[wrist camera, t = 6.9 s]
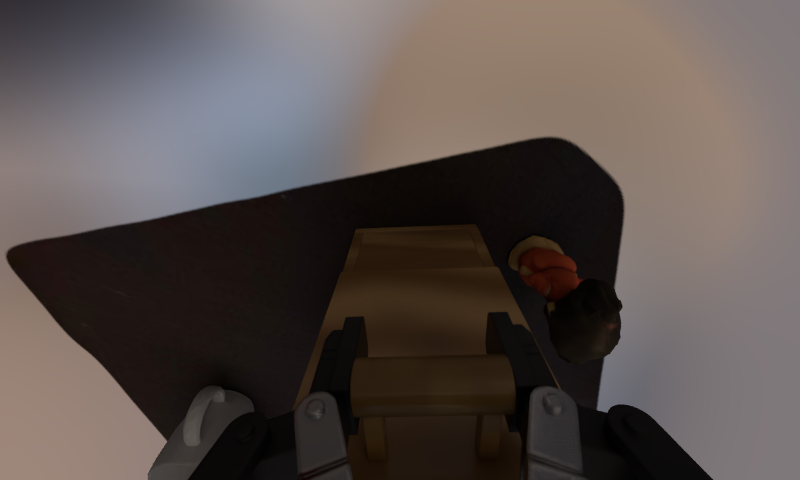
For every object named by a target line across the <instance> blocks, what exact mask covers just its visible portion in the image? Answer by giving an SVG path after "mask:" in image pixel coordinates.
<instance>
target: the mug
mask: <svg viewBox="0 0 800 480" xmlns="http://www.w3.org/2000/svg"><path fill="white" fill-rule="evenodd" d="M249 412H254V406H253V403H252V401H251V400H250V399H249V398H248V397H247V396H245V395H244V394H241V393H239V392H236V391H232V390H227V389H225V390H224V389H223V388H222V387H221V386H215V385H212V386H207V387H205V388H203V389H202V390H201V391H200V392H199V393H198V394H197V396H196V397H195V398H194V400H193V402H192V404H191V406H190V408H189V410H188V412H187V415H186V417H185V418H184V419H183V421H182V422H181V423H180V425H179V426H178V427H177V428H176V430H175V431H174V432H173V434H172V435H171V437H170V438H169V440H168V441H167V443H166V444H165V446H164V448H163V449H162V451H161V452H160V454H159V455H158V457H157V458H156V460H155V462H154V463H153V466H152V467H151V469H150V471H149V473H148V480H188V478H189V477H190V476H191V474H192V473H193V472H194V470H195V469H196V468H197V466H198V465H199V464H200V462H201V461H202V459H203V458H204V457H205V455H206V454H207V453H208V451H209V450H210V449H211V447H212V446H213V445H214V443H215V442H216V441H217V439H218V438H219V437H220V435H221V434H222V432H223V431H224V430H225V428H226V427H227V426H228V425H229V424H230V423H231V422H232V421H233V420H234V419H236V418H237V417H239V416H241V415H243V414H246V413H249Z"/></svg>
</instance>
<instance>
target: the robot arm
mask: <svg viewBox="0 0 800 480" xmlns="http://www.w3.org/2000/svg"><path fill="white" fill-rule="evenodd" d="M485 345H486V353H487V354H504V355H506V356H507V358H508V360H509V362H510V364H511V367H512V371H513V375H514V380H515V386H516V409H515V412H514V414H512V415H504V416H505V419H506V422H507V426H508V429H509V432H519V435H520V438H521V441H522V444H521V450H520V464H519V479H518V480H713V479H712V478H711V477H710V476H709V475H708V474H707V473H706V472H705V471H704V470H703V469H702V468H701V467H700V466H699V465H698V464H697V463H696V462H695V461H694V460H693V459H692V458H691V457H690V456H689V455H688V454H687V453H686V452H685V451H684V450H683V449H682V448H681V447H680V446H679V445H678V444H677V442H676V441H675V440H673V438H672V437H671V436H670V435H669V434H668V433H667V432H666V431H665V430H664V429H663V428H662V427H661V426H660V425H659V424H658V423H657V422H656V421H655V420H654V419H653V418H652V417H651V416H649V415H648V414H647V413H645V412H643V411H642V410H639V409H638V408H635V407H633V406H629V405H615V406H613V407H611V408H610V409H609V411H608V413H605V412H601V411H597V410H594V409H590V408H586V407H583V406H580V405H578V404H576V403H575V402H574V401H573V400H572V398H571V397H570V396H569V395H568V394H566V393H565V392H564V391H562V390H560V389H559V388H558V386H557V384H556V382H555V380H554V378H553V376H552V374H551V372H550V370H549V368H548V366H547V364H546V362H545V360H544V358H543V356H542V354H541V352H540V349H539V347H538V346H537V343H536V341H535V339H534V337H533V335H532V333H531V332H530V331H529V330H528V329H526V328H525V327H524V326H523V325H522V324H513V323H512V321H511V318H510V316H509V314H508V312H489V313H488V315H487V327H486V339H485ZM359 357H368V341H367V334H366V326H365V319H364V316H357V317H346V318H345V321H344V325H343V329H342V330H333V331H332V332H331V333H330V334H329V336H328V337H327V338H326V339H325V342H324V346H323V349H322V352H321V355H320V360H319V362H318V365H317V368H316V372H315V375H314V378H313V381H312V385H311V388H310V391H309V394H308V395H307V396H306V397H304V398H303V399H302V400H301V401H300V402H299V403H298V405H297V407H296V409H295V410H293V411H291V412H289V413H287V414H284V415H281V416H278V417H275V418H272V419H268V420H267V418H266V416H265V415H263V414H262V413H259V412H249V413H246V414H243V415H241V416H239V417H237V418H236V419H234V420H233V421H232V422H231V423H230V424H229V425H228V426H227V427H226V428H225V430H224V431H223V432H222V434H221V435H220V437H219V438H218V439H217V441H216V442H215V443H214V445H213V446H212V447H211V449H210V450H209V451H208V453H207V454H206V455H205V457H204V458H203V459H202V461H201V462H200V464H199V465H198V466H197V468H196V469H195V470H194V472H193V473H192V474H191V476H190V477H189V478H188V480H353V476H352V472H351V467H350V462H349V457H348V453H347V448H348V442H349V436H350V435H358V428H359V421H360V418H355V417H353V415H352V412H351V406H350V379H351V371H352V365H353V362H354V360H355V358H359Z"/></svg>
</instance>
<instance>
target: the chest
mask: <svg viewBox="0 0 800 480" xmlns="http://www.w3.org/2000/svg"><path fill="white" fill-rule="evenodd" d="M480 267H495V265H494V263H493V260H492V258H491V256H490V254H489V252H488V249H487V247H486V245H485V243H484V241H483V238H482V236H481V234H480V232H479V230H478V228H477V226H476V224H464V225H439V226H414V227H388V228H363V229H356V230H355V233H354V236H353V240H352V243H351V246H350V249H349V253H348V256H347V259H346V263H345V266H344V269H343V272H365V271H394V270H423V269H451V268H480Z"/></svg>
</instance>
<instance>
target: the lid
mask: <svg viewBox="0 0 800 480" xmlns="http://www.w3.org/2000/svg"><path fill="white" fill-rule="evenodd" d="M489 312H508V314H509V316H510V318H511V321H512V323H513V324H522V325H523V326H524V327H525V328H526V329H528V330H529V331H530V332H531V330H530V328H529V327H528V325H527V323H526V321H525V319H524V317H523V315H522V313H521V311H520V309H519V307H518V305H517V303H516V301H515V299H514V297H513V295H512V293H511V292H510V290H509V288H508V286H507V284H506V282H505V280H504V278H503V276H502V274H501V272H500V270H499V268H498V267H480V268H451V269H423V270H394V271H365V272H341V273H340V276H339V278H338V281H337V284H336V287H335V290H334V293H333V296H332V298H331V301H330V304H329V307H328V310H327V313H326V316H325V318H324V321H323V324H322V327H321V330H320V333H319V335H318V338H317V341H316V344H315V347H314V350H313V353H312V355H311V358H310V361H309V364H308V367H307V370H306V372H305V375H304V378H303V381H302V384H301V387H300V390H299V392H298V395H297V398H296V401H295V404H294V407H293V410H295V409H296V407H297V405H298V403H299V402H300V401H301V400H302V399H303V398H304V397H306V396H307V395H308V394H309V391H310V388H311V385H312V381H313V378H314V375H315V372H316V368H317V365H318V362H319V360H320V355H321V352H322V349H323V346H324V342H325V339H326V338H327V337H328V336H329V334H330V333H331V332H332V331H333V330H342V329H343V325H344V321H345V318H346V317H357V316H364V319H365V326H366V334H367V341H368V357H359V358H355V360H354V362H353V365H352V371H351V379H350V406H351V412H352V415H353V417H355V418H360V421H359V428H358V435H350V436H349V442H348V448H347V453H348V457H349V462H350V467H351V472H352V476H353V480H518V479H519V464H520V450H521V444H522V441H521V438H520V435H519V432H509V429H508V426H507V422H506V419H505V416H504V415H512V414H514V412H515V409H516V386H515V380H514V375H513V371H512V367H511V364H510V362H509V360H508V358H507V356H506V355H504V354H487V353H486V345H485V339H486V327H487V315H488V313H489ZM531 333H532V332H531ZM532 335H533V334H532ZM533 337H534V336H533ZM534 339H535V338H534ZM535 341H536V340H535ZM536 343H537V342H536ZM537 346H538V344H537ZM538 347H539V346H538ZM539 349H540V348H539ZM540 352H541V350H540ZM541 354H542V352H541ZM542 356H543V354H542ZM543 358H544V356H543ZM544 360H545V358H544ZM545 362H546V360H545ZM546 364H547V366H548V368H549V370H550V372H551V374H552V376H553V378H554V380H555V382H556V384H557V386H558V388H559V389H560V387H559V385H558V383H557V381H556V379H555V377H554V375H553V373H552V371H551V369H550V367H549V365H548V363H547V362H546ZM560 390H561V389H560ZM293 410H292V411H293Z"/></svg>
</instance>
